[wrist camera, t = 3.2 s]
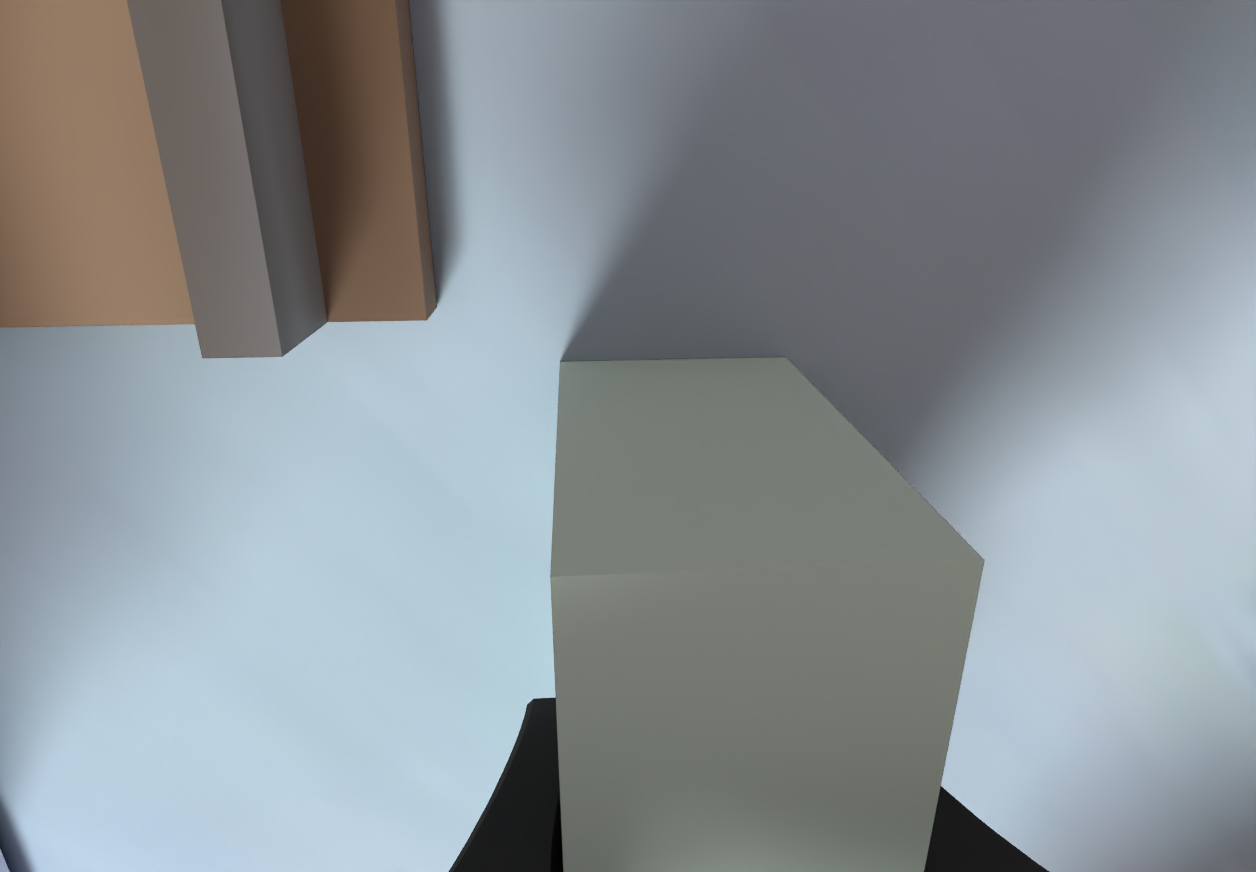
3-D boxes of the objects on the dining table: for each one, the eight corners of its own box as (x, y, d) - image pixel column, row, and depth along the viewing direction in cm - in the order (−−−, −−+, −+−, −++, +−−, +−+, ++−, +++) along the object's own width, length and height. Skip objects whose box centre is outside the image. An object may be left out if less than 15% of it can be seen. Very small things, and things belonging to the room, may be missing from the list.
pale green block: (577, 861, 18) (581, 1284, 11) (560, 361, 13) (550, 577, 7) (747, 851, 18) (848, 1257, 11) (785, 357, 14) (983, 560, 7)
